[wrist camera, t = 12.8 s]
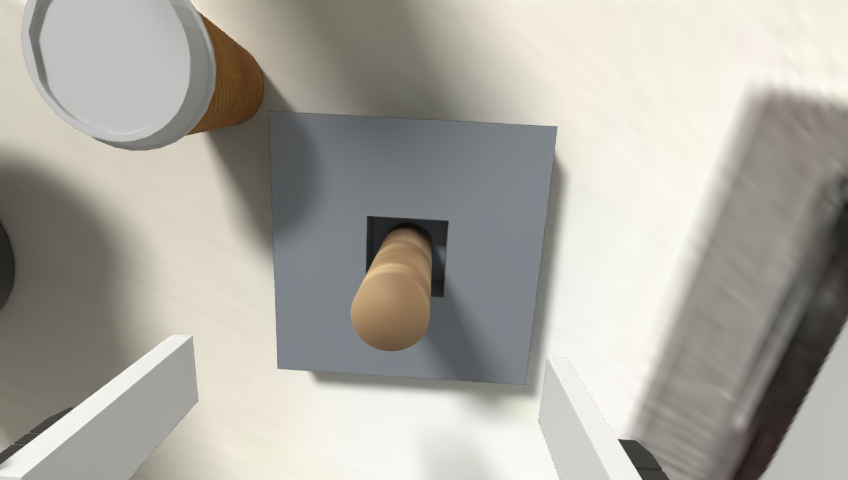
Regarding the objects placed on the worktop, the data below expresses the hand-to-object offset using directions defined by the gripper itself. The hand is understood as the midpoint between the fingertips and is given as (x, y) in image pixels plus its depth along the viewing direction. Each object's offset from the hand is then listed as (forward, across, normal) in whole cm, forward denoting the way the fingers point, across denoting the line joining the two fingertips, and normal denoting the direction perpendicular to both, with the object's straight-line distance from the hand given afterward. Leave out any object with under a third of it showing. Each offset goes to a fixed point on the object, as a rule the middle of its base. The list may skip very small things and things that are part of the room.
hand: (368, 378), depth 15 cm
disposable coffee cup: (+21, -15, +12) cm, 28 cm away
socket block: (+20, 0, 0) cm, 20 cm away
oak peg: (+20, 0, 0) cm, 20 cm away
